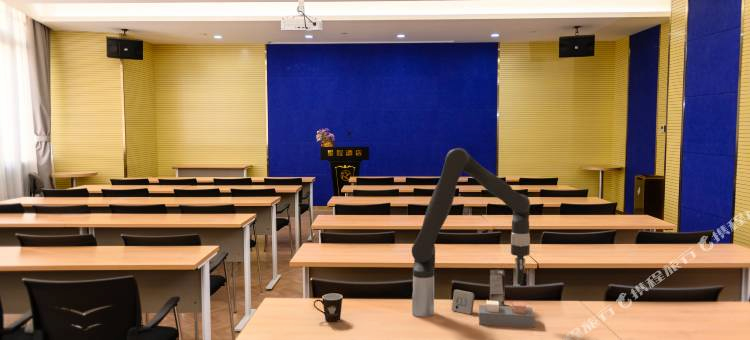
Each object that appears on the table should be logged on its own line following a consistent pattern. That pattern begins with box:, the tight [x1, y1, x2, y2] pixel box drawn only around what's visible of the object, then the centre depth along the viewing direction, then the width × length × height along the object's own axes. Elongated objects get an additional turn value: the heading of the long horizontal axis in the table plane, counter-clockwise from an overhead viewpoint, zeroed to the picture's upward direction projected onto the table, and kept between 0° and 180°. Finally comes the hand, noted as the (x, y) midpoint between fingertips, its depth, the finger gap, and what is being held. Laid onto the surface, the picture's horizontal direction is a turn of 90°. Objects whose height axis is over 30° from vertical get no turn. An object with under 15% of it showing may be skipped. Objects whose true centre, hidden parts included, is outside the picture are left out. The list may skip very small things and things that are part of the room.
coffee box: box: [489, 269, 506, 306], centre depth 254 cm, size 9×6×16 cm
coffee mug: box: [313, 293, 343, 323], centre depth 241 cm, size 12×9×10 cm
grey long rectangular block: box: [478, 304, 535, 329], centre depth 236 cm, size 22×10×5 cm, turn 80°
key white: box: [485, 299, 499, 312], centre depth 237 cm, size 5×5×5 cm
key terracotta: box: [512, 301, 527, 314], centre depth 235 cm, size 5×5×5 cm
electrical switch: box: [451, 289, 475, 315], centre depth 250 cm, size 9×5×9 cm, turn 54°
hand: (519, 284), depth 234 cm, fingers closed
